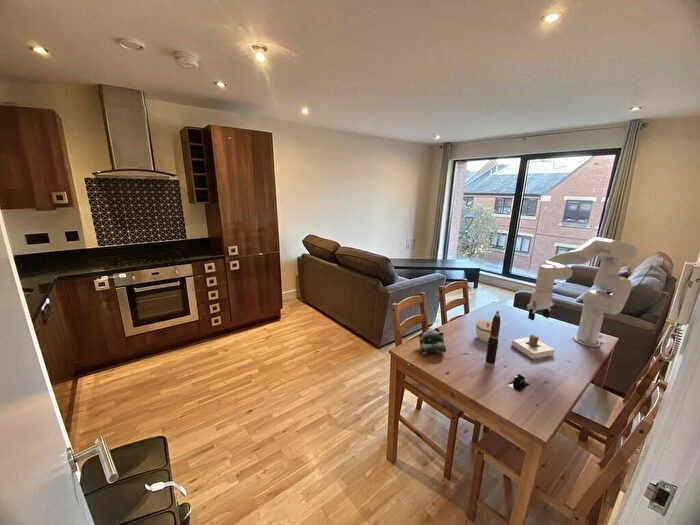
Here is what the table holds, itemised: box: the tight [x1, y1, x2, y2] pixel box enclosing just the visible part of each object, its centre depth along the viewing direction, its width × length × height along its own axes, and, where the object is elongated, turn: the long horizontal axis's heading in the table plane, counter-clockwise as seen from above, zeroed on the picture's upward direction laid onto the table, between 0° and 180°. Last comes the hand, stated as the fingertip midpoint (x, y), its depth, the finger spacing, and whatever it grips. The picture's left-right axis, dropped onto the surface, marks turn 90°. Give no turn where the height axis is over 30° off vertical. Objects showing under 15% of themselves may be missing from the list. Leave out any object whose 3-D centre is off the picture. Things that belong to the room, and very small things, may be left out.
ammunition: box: [484, 310, 501, 369], centre depth 142 cm, size 5×5×30 cm
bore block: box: [511, 336, 555, 361], centre depth 158 cm, size 14×14×4 cm
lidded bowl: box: [475, 320, 501, 343], centre depth 169 cm, size 13×13×11 cm
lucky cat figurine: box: [418, 327, 447, 355], centre depth 157 cm, size 15×12×14 cm
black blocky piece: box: [506, 373, 530, 392], centre depth 131 cm, size 12×7×5 cm, turn 123°
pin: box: [528, 334, 540, 348], centre depth 157 cm, size 4×4×8 cm
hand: (538, 318), depth 153 cm, fingers open, 9 cm apart
